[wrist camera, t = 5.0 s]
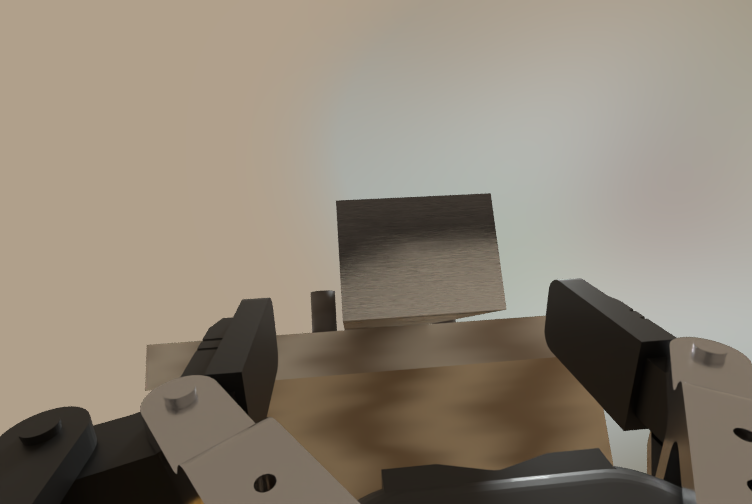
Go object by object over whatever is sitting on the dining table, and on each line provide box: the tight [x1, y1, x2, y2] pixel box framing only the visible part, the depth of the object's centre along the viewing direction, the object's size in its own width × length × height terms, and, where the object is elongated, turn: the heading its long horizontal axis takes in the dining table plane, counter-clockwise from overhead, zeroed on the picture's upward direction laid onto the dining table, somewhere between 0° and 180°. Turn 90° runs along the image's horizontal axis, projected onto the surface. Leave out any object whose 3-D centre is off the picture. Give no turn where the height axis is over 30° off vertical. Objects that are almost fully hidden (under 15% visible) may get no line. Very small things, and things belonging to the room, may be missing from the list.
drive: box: [336, 193, 506, 330], centre depth 23 cm, size 4×26×3 cm, turn 4°
